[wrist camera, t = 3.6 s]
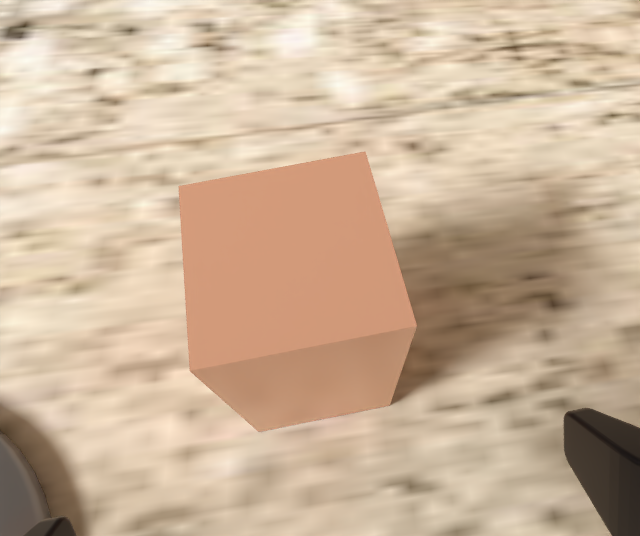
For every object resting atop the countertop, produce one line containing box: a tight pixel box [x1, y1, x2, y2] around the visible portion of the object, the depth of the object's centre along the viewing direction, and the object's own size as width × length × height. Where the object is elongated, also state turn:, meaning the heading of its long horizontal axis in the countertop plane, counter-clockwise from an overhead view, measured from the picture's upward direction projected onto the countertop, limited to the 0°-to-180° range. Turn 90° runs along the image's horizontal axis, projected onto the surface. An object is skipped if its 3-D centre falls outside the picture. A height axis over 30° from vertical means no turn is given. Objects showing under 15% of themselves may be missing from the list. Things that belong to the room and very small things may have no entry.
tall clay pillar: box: [179, 152, 417, 432], centre depth 18 cm, size 6×6×10 cm
